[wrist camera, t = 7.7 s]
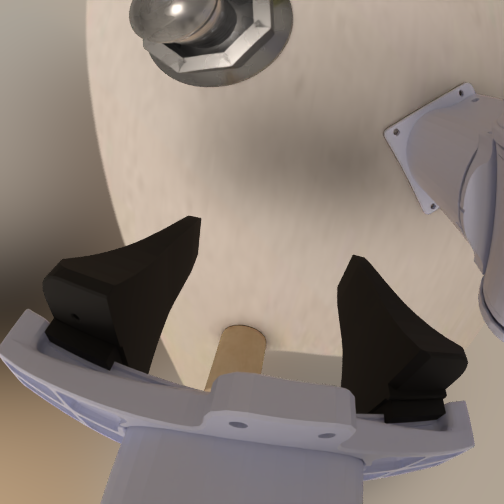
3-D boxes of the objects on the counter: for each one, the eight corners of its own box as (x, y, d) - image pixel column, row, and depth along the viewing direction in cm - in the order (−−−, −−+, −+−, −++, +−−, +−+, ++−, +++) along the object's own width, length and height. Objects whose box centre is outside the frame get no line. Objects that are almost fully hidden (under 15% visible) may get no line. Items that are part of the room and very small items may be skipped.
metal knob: (249, -1, 12) (227, -31, 8) (228, 57, 15) (197, 47, 10) (185, -8, 12) (144, -31, 7) (166, 47, 15) (119, 40, 10)
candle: (213, 333, 33) (189, 403, 25) (245, 318, 30) (224, 397, 22) (243, 356, 35) (226, 423, 27) (275, 344, 32) (263, 418, 24)
